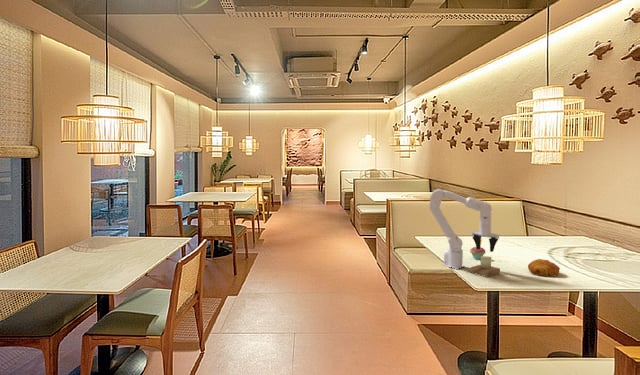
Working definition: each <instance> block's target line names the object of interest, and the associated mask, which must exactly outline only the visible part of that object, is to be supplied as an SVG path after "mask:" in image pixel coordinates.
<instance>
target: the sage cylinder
mask: <svg viewBox="0 0 640 375" xmlns="http://www.w3.org/2000/svg"><path fill="white" fill-rule="evenodd" d="M480 265H481V268H484V269H491V266H492V256H487V255H483V256H481V260H480Z"/></svg>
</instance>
